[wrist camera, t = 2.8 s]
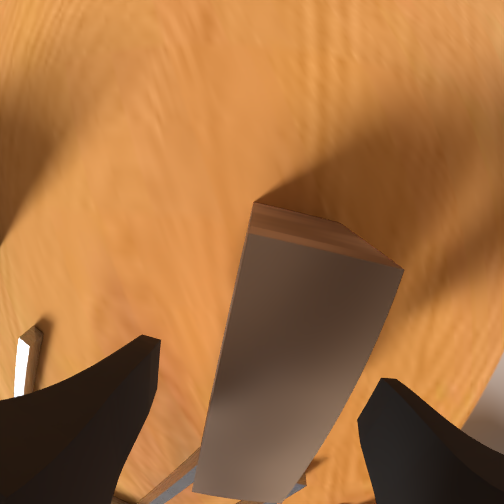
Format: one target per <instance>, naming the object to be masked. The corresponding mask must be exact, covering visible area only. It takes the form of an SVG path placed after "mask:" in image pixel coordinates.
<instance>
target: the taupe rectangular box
mask: <svg viewBox="0 0 504 504" xmlns="http://www.w3.org/2000/svg"><path fill="white" fill-rule="evenodd" d="M403 272H404V269H403V268H401V267H400V266H399V265H397V264H396V263H395V262H393V261H392V260H391V259H389V258H388V257H387V256H385V255H384V254H383V253H381V252H380V251H378V250H377V249H376V248H374V247H373V246H372V245H370V244H369V243H367V242H366V241H365V240H363V239H362V238H360V237H359V236H358V235H356V234H355V233H353V232H352V231H351V230H349V229H348V228H346V227H345V226H343V225H342V224H340V223H338V222H334V221H330V220H326V219H322V218H319V217H315V216H311V215H307V214H302V213H298V212H294V211H290V210H286V209H282V208H278V207H273V206H269V205H265V204H260V203H256V202H254V203H253V207H252V211H251V216H250V220H249V225H248V229H247V233H246V238H245V242H244V247H243V251H242V256H241V260H240V265H239V269H238V273H237V278H236V282H235V287H234V291H233V296H232V301H231V305H230V310H229V314H228V319H227V323H226V328H225V332H224V337H223V342H222V346H221V351H220V355H219V360H218V365H217V369H216V374H215V379H214V383H213V388H212V393H211V397H210V402H209V407H208V412H207V417H206V422H205V427H204V432H203V437H202V442H201V447H200V453H199V458H198V463H197V468H196V473H195V478H194V483H193V489H192V492H196V493H201V494H206V495H211V496H217V497H224V498H230V499H238V500H246V501H256V502H268V503H282V502H283V501H284V499H285V498H286V497H287V495H288V494H289V493H290V491H291V490H292V489H293V487H294V486H295V484H296V483H297V482H298V480H299V479H300V477H301V476H302V474H303V473H304V472H305V470H306V469H307V467H308V466H309V464H310V463H311V461H312V460H313V458H314V456H315V455H316V453H317V452H318V450H319V449H320V447H321V445H322V444H323V442H324V441H325V439H326V437H327V436H328V434H329V432H330V431H331V429H332V427H333V425H334V424H335V422H336V420H337V419H338V417H339V415H340V413H341V411H342V410H343V408H344V406H345V404H346V402H347V400H348V399H349V397H350V395H351V393H352V391H353V389H354V387H355V385H356V383H357V381H358V379H359V377H360V375H361V373H362V371H363V369H364V367H365V365H366V363H367V361H368V359H369V357H370V354H371V352H372V350H373V348H374V346H375V343H376V341H377V339H378V337H379V334H380V332H381V330H382V327H383V325H384V322H385V320H386V318H387V315H388V313H389V310H390V308H391V305H392V302H393V300H394V297H395V295H396V292H397V289H398V286H399V284H400V281H401V278H402V275H403Z"/></svg>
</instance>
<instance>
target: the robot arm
mask: <svg viewBox="0 0 504 504" xmlns="http://www.w3.org/2000/svg"><path fill="white" fill-rule="evenodd" d="M160 344H161V340H160V339H156V338H153V337H149V336H146V335H141V336H139V337H137V338H136V339H134V340H133V341H131V342H130V343H128V344H127V345H125V346H124V347H122V348H121V349H119V350H117V351H116V352H114V353H113V354H111V355H110V356H108V357H106V358H105V359H103V360H101V361H100V362H98V363H96V364H95V365H93V366H91V367H89V368H87V369H86V370H84V371H82V372H80V373H78V374H76V375H74V376H72V377H70V378H68V379H66V380H64V381H62V382H59V383H57V384H54V385H52V386H49V387H47V388H44V389H41V390H38V391H35V392H32V393H28V394H25V395H21V396H17V397H14V398H10V399H6V400H0V504H111V501H112V497H113V494H114V491H115V488H116V485H117V482H118V479H119V476H120V473H121V471H122V468H123V466H124V464H125V462H126V460H127V457H128V455H129V453H130V451H131V449H132V447H133V445H134V443H135V441H136V439H137V437H138V435H139V433H140V431H141V429H142V426H143V424H144V422H145V420H146V418H147V416H148V414H149V411H150V408H151V405H152V402H153V399H154V396H155V393H156V390H157V383H158V369H159V356H160ZM357 421H358V430H359V437H360V444H361V448H362V451H363V455H364V458H365V462H366V465H367V469H368V472H369V476H370V479H371V483H372V487H373V490H374V494H375V499H376V503H377V504H504V455H503V454H501V453H499V452H497V451H494V450H492V449H490V448H489V447H487V446H485V445H483V444H481V443H480V442H478V441H476V440H475V439H473V438H472V437H470V436H468V435H467V434H465V433H464V432H462V431H461V430H460V429H458V428H457V427H456V426H454V425H453V424H452V423H450V422H449V421H448V420H446V419H445V418H444V417H443V416H441V415H440V414H439V413H438V412H437V411H435V410H434V409H433V408H432V407H431V406H429V405H428V404H427V403H426V402H425V401H423V400H422V399H421V398H420V397H419V396H418V395H416V394H415V393H414V392H413V391H411V390H410V389H409V388H408V387H406V386H405V385H404V384H403V383H401V382H400V381H398V380H397V379H391V378H381V379H380V381H379V383H378V385H377V386H376V388H375V390H374V392H373V394H372V395H371V397H370V399H369V401H368V402H367V404H366V406H365V408H364V409H363V411H362V413H361V414H360V416H359V418H358V419H357Z"/></svg>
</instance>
